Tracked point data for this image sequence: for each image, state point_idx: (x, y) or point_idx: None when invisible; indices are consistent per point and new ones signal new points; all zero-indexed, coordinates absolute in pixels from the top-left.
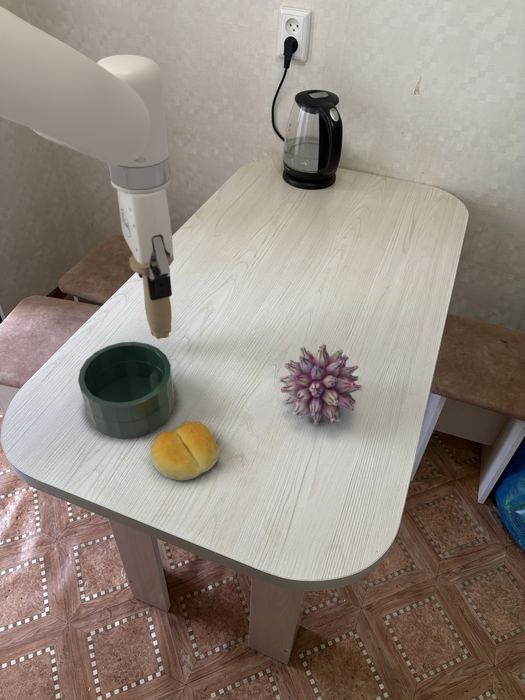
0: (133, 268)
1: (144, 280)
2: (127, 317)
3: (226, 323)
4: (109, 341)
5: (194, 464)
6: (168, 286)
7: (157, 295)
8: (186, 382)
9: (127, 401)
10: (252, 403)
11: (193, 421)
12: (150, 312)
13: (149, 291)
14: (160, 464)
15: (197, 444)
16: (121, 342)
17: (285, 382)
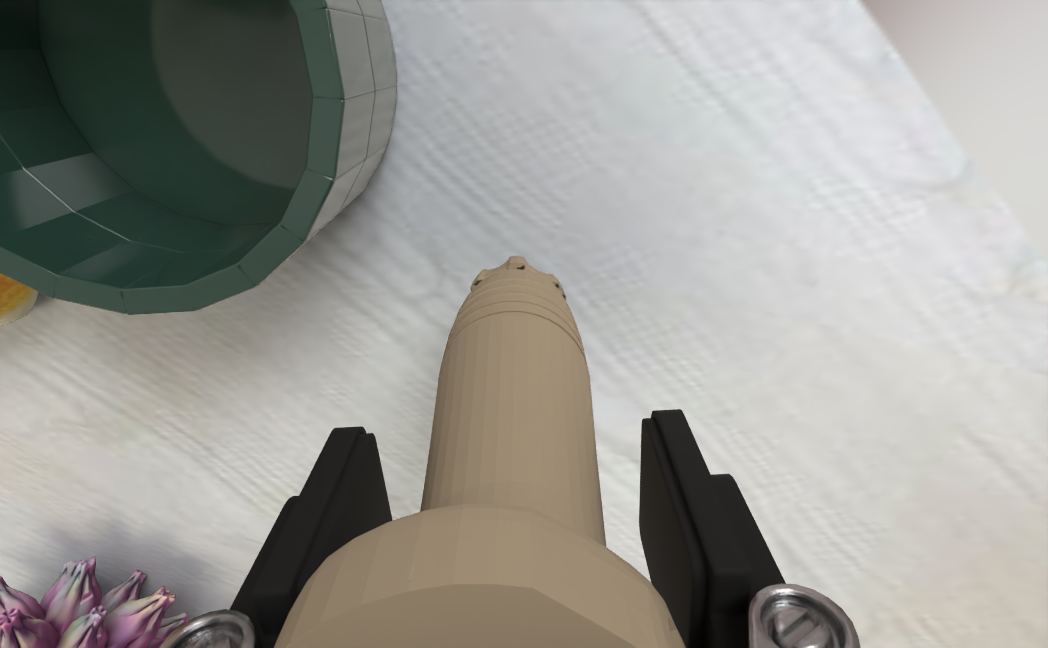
0: (383, 550)
1: (475, 475)
2: (781, 162)
3: None
4: (649, 41)
5: None
6: None
7: (287, 504)
8: (302, 301)
9: (218, 49)
10: (169, 462)
11: (3, 288)
12: (463, 333)
13: (311, 478)
14: None
15: None
16: (339, 102)
17: (81, 622)
